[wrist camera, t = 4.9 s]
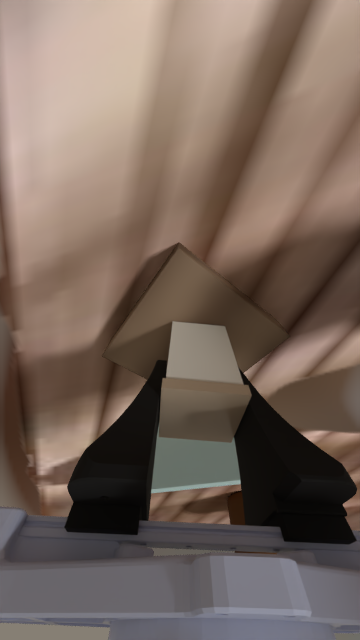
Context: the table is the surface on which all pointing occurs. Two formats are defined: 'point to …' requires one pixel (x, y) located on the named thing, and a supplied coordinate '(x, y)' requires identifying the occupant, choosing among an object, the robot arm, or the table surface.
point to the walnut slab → (191, 316)
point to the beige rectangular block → (201, 385)
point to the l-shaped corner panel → (193, 464)
